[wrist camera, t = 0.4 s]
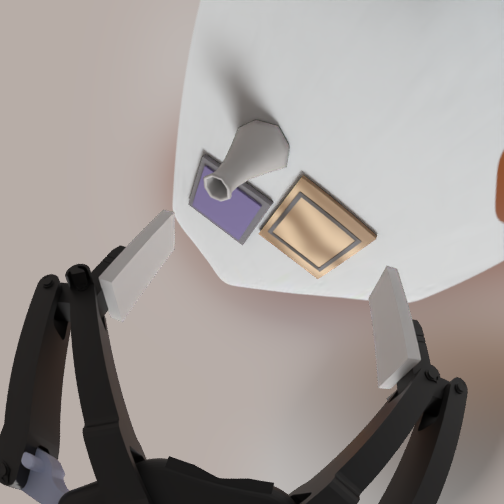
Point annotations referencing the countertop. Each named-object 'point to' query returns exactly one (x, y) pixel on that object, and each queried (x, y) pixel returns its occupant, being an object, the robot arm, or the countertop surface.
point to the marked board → (315, 229)
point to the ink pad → (229, 204)
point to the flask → (248, 158)
